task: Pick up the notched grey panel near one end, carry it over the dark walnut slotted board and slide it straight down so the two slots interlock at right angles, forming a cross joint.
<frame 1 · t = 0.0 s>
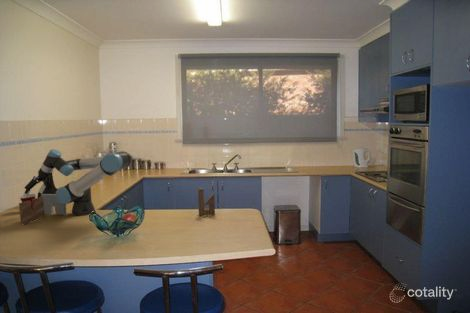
hand: (32, 194, 244), 15 cm above the countertop, tool tilted 35°, fingers open, 13 cm apart
notched grey panel: (54, 214, 251), on the countertop
dark brown vase: (51, 204, 281), on the countertop
walnut board: (33, 220, 235), on the countertop
plastic cup: (29, 211, 260), on the countertop
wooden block: (206, 214, 239), on the countertop
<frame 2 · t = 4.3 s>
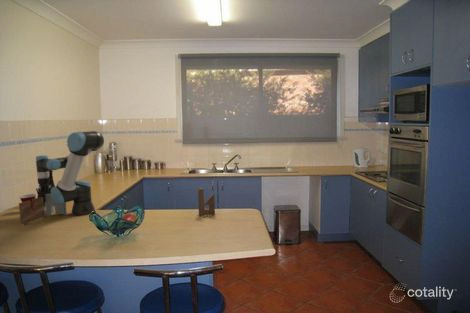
hand: (46, 210, 252), 2 cm above the countertop, tool pointing down, fingers closed on notched grey panel, 2 cm apart
notched grey panel: (54, 214, 251), on the countertop, touching gripper
everything else where it was.
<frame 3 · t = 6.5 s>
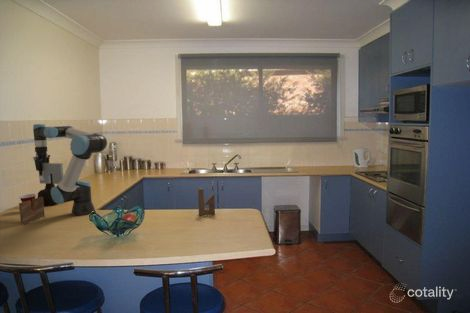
hand: (43, 179, 249), 24 cm above the countertop, tool pointing down, fingers closed on notched grey panel, 2 cm apart
notched grey panel: (51, 183, 248), point 22 cm above the countertop, touching gripper
everything else where it was.
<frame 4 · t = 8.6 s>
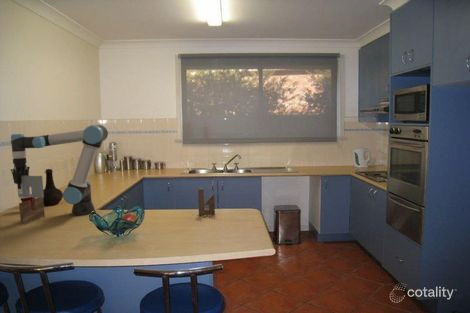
hand: (22, 193, 234), 18 cm above the countertop, tool pointing down, fingers closed on notched grey panel, 2 cm apart
notched grey panel: (31, 197, 233), point 16 cm above the countertop, touching gripper
everything else where it was.
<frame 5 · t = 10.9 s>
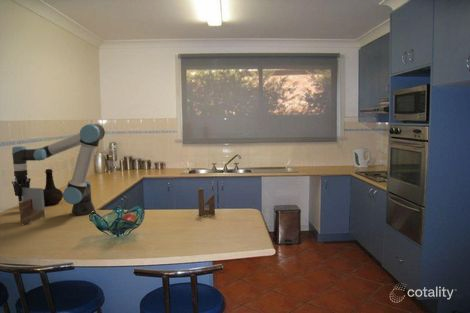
hand: (23, 205, 235), 10 cm above the countertop, tool pointing down, fingers closed on notched grey panel, 2 cm apart
notched grey panel: (31, 209, 234), point 8 cm above the countertop, touching gripper
everything else where it was.
when the fingers open (3 cm above the countertop, at t = 13.1 s): notched grey panel stays where it is, resting on walnut board.
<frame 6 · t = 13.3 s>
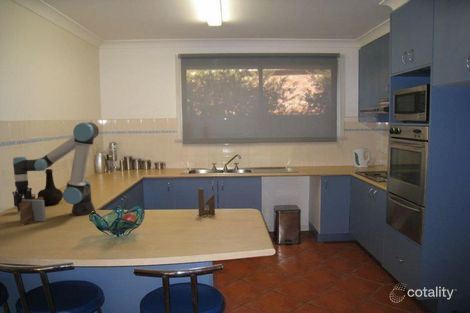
hand: (24, 214, 236), 4 cm above the countertop, tool pointing down, fingers open, 5 cm apart
notched grey panel: (33, 220, 235), resting on walnut board
everything else where it was.
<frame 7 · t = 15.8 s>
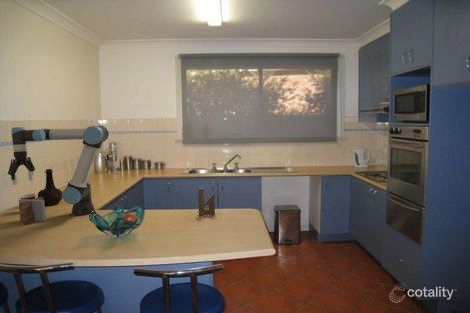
hand: (23, 182, 234), 25 cm above the countertop, tool pointing down, fingers open, 13 cm apart
nothing on the countertop moved.
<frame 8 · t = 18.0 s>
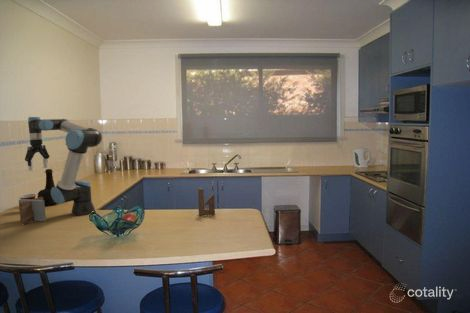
hand: (38, 169, 251), 32 cm above the countertop, tool pointing down, fingers open, 13 cm apart
nothing on the countertop moved.
at the end: notched grey panel 0.1 cm off-centre on the walnut board, point 0.0 cm above the walnut board's base; notched grey panel tilted 0°; the gripper is holding nothing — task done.
